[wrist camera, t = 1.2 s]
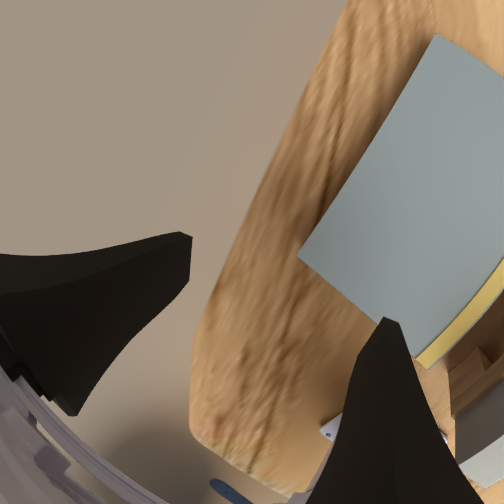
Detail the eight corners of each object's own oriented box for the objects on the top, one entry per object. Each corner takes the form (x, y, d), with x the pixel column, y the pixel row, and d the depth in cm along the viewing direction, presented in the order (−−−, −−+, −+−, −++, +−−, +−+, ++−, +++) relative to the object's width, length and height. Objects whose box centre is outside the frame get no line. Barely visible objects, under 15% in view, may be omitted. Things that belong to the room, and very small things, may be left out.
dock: (565, 156, 9) (578, 152, 7) (428, 355, 17) (428, 371, 15) (434, 47, 13) (435, 32, 11) (306, 250, 20) (295, 256, 19)
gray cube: (529, 407, 9) (541, 450, 5) (483, 445, 10) (484, 489, 7) (505, 378, 10) (518, 422, 6) (455, 420, 12) (454, 467, 8)
